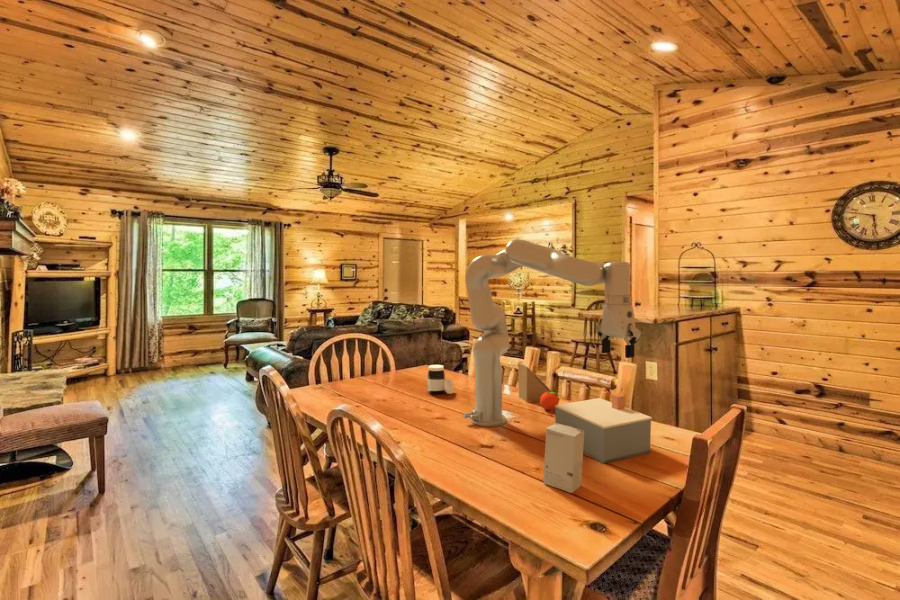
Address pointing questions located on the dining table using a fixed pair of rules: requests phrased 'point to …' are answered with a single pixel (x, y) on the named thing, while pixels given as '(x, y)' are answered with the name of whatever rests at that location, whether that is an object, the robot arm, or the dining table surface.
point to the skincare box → (563, 457)
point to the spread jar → (438, 380)
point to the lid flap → (604, 412)
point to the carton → (609, 438)
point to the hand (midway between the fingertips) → (617, 354)
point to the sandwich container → (530, 385)
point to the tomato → (549, 400)
